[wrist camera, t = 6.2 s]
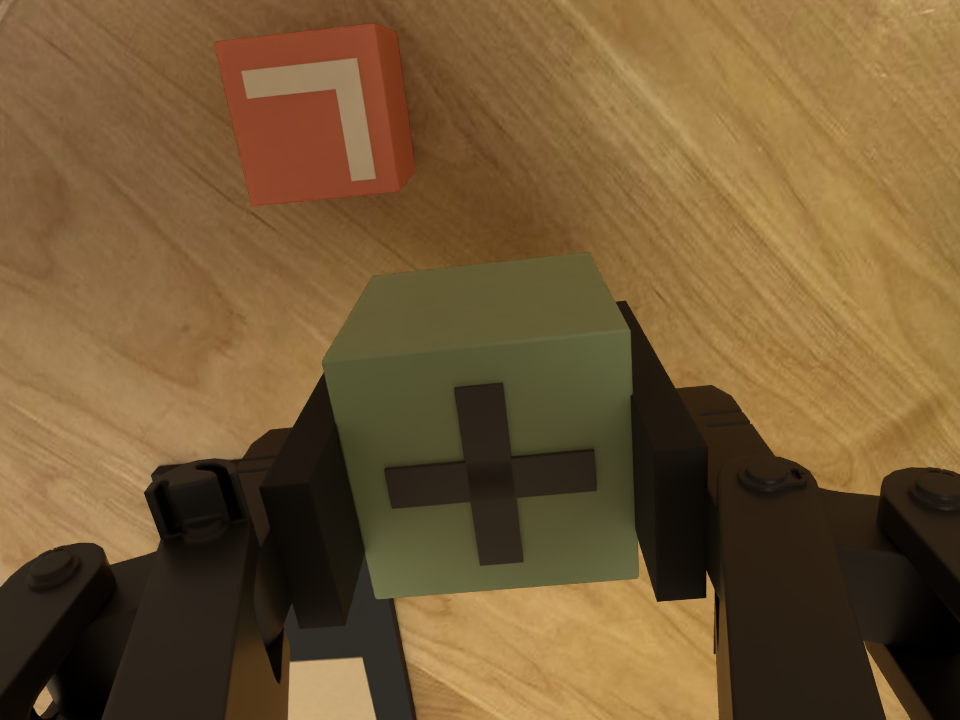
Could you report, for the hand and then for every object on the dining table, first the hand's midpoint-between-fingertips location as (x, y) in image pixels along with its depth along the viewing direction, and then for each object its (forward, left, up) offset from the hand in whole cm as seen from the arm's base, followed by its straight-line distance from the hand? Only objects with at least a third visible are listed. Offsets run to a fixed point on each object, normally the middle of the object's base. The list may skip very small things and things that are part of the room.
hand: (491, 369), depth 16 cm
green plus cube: (0, 0, 0) cm, 0 cm away
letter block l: (-8, +1, -13) cm, 15 cm away
